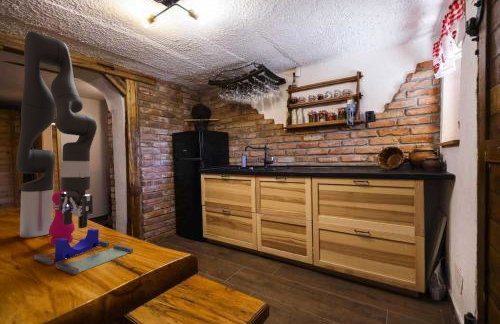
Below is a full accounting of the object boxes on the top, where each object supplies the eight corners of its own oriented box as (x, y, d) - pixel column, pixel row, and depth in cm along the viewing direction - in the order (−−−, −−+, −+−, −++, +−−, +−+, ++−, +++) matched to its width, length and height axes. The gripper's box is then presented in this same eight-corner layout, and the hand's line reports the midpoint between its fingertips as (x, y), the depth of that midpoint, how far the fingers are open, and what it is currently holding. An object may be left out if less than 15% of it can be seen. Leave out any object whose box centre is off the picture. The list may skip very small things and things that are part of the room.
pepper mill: (43, 243, 80) (45, 186, 80) (66, 237, 86) (68, 184, 86) (56, 246, 77) (57, 187, 77) (79, 240, 84) (80, 186, 84)
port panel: (34, 259, 67) (34, 254, 67) (94, 241, 83) (94, 238, 83) (74, 274, 58) (74, 270, 58) (132, 252, 74) (133, 248, 74)
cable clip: (87, 245, 79) (87, 228, 79) (98, 246, 78) (98, 229, 78) (50, 259, 68) (51, 239, 68) (62, 261, 67) (63, 240, 67)
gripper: (50, 175, 73) (48, 226, 72) (75, 176, 66) (74, 232, 66) (76, 174, 79) (75, 221, 79) (101, 175, 73) (100, 226, 73)
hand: (74, 226), depth 73 cm, fingers open, 8 cm apart
